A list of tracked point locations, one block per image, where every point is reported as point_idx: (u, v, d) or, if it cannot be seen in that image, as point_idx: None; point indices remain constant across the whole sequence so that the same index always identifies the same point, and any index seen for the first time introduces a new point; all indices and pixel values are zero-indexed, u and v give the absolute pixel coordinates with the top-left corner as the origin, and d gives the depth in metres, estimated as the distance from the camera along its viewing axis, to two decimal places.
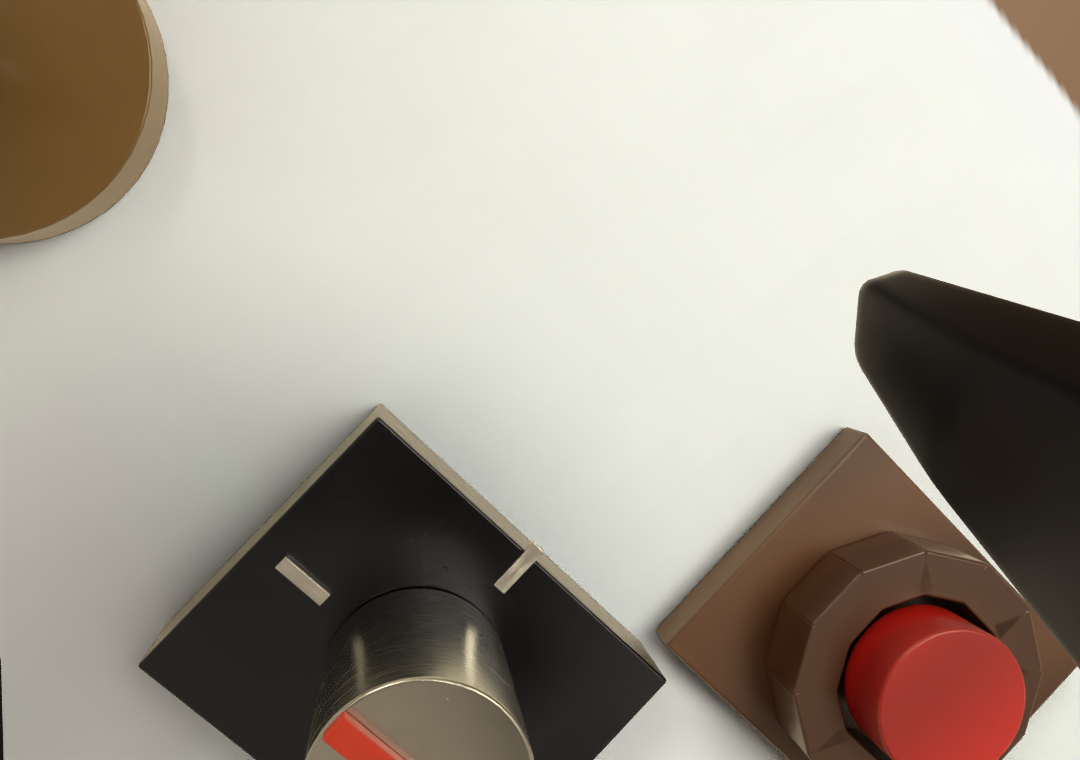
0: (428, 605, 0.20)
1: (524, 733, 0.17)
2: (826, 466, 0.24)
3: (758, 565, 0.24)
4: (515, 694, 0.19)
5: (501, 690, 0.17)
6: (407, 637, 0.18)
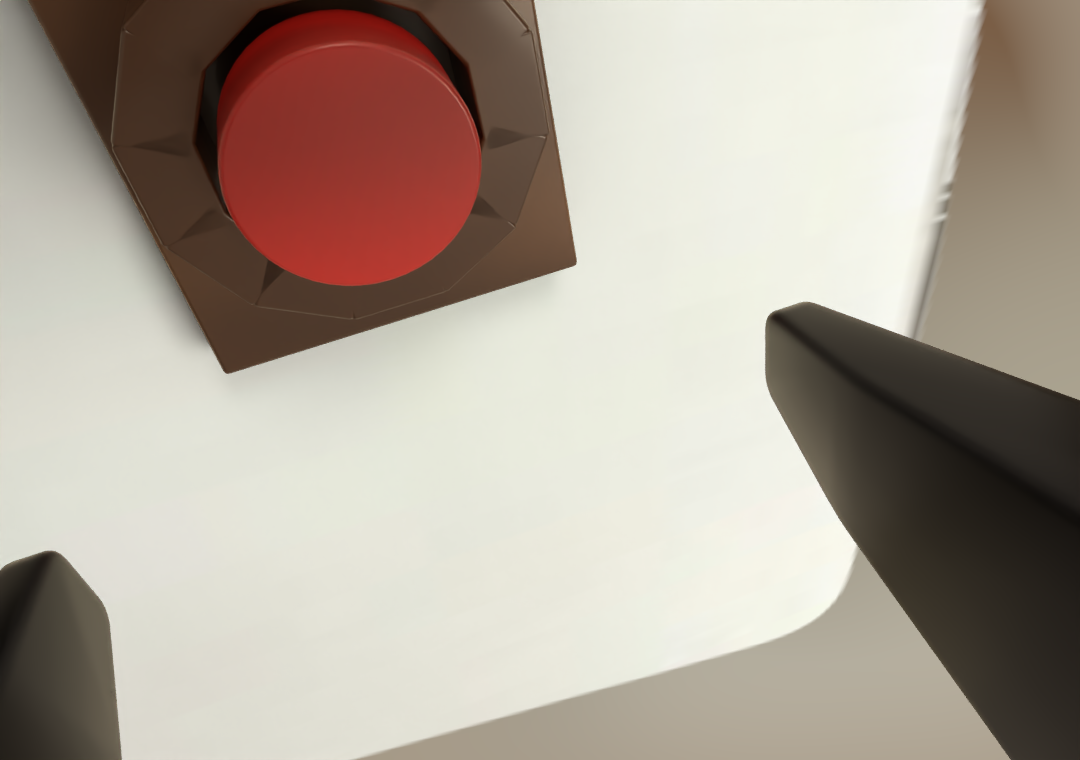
0: None
1: None
2: None
3: None
4: None
5: None
6: None
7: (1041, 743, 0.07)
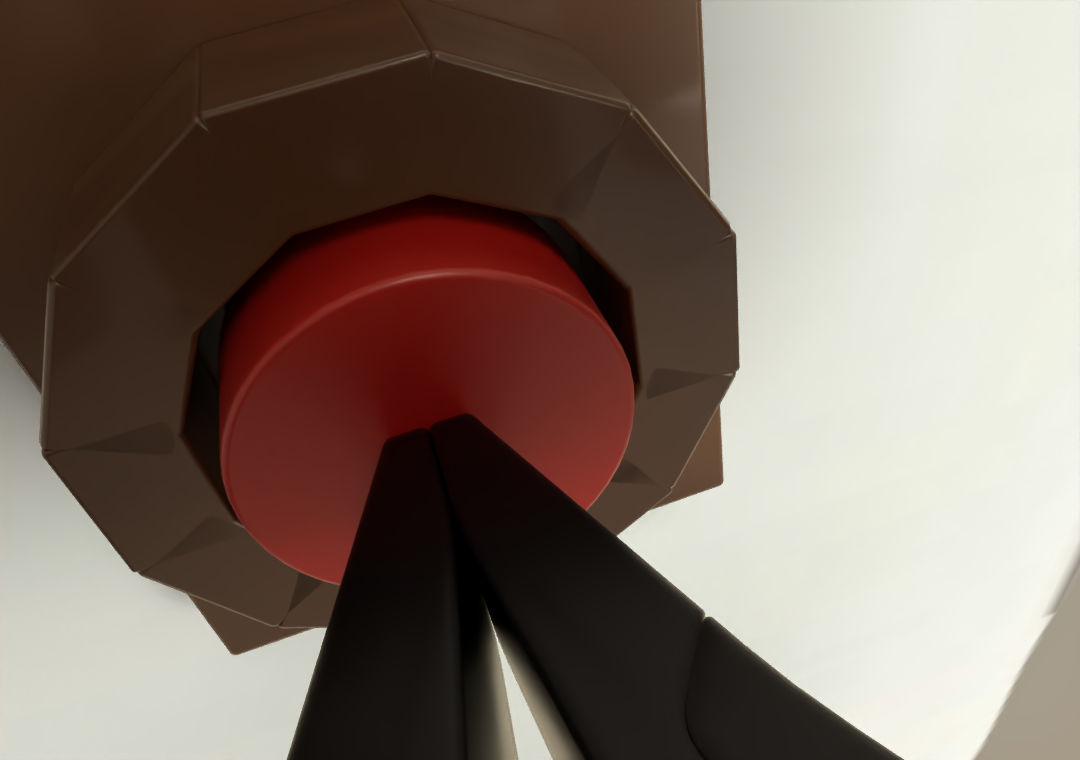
0: None
1: None
2: None
3: None
4: None
5: None
6: None
7: None
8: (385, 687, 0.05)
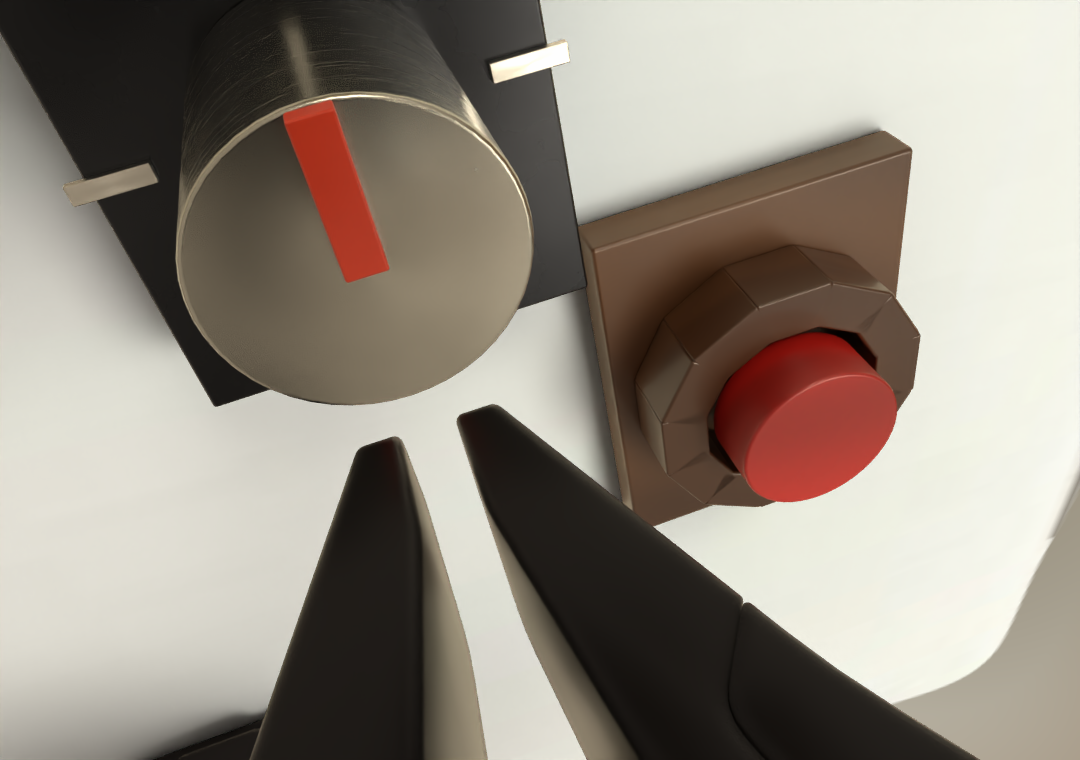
0: (419, 35, 0.13)
1: (531, 266, 0.12)
2: (852, 159, 0.20)
3: (729, 220, 0.20)
4: None
5: None
6: (413, 56, 0.12)
7: None
8: (344, 701, 0.05)
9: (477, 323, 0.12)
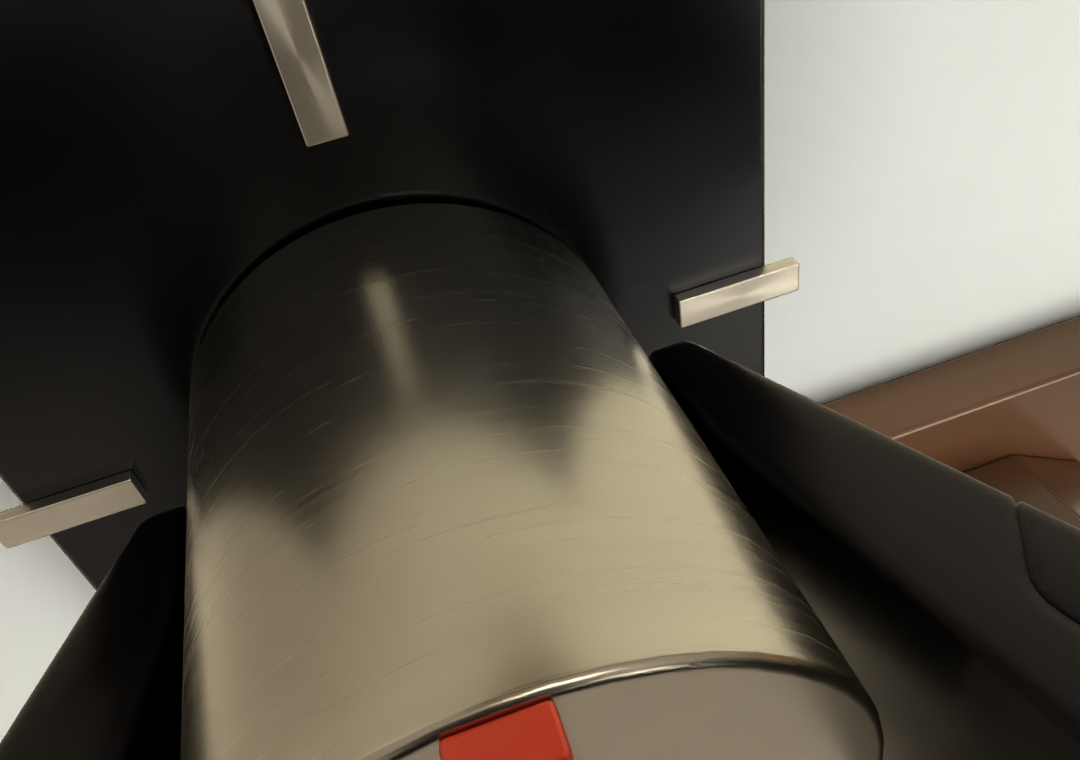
0: (600, 304, 0.08)
1: None
2: None
3: (939, 434, 0.14)
4: None
5: None
6: (639, 419, 0.06)
7: None
8: None
9: None
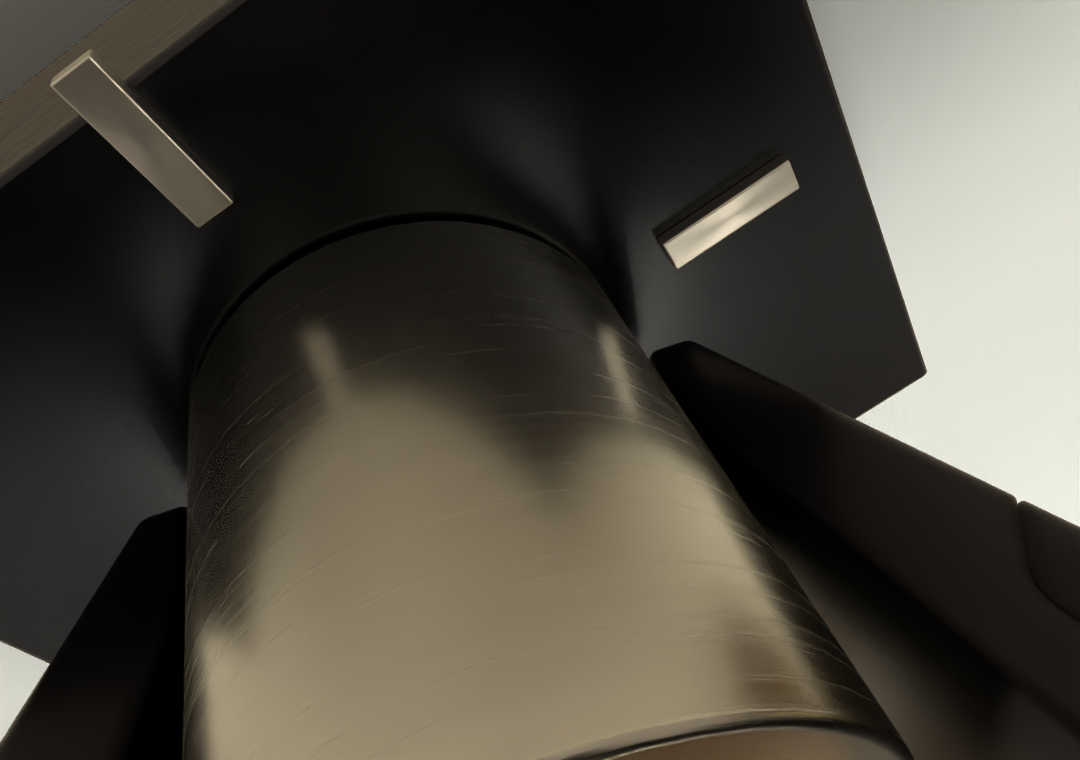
0: (613, 325, 0.07)
1: None
2: None
3: None
4: None
5: None
6: (659, 451, 0.06)
7: None
8: None
9: None
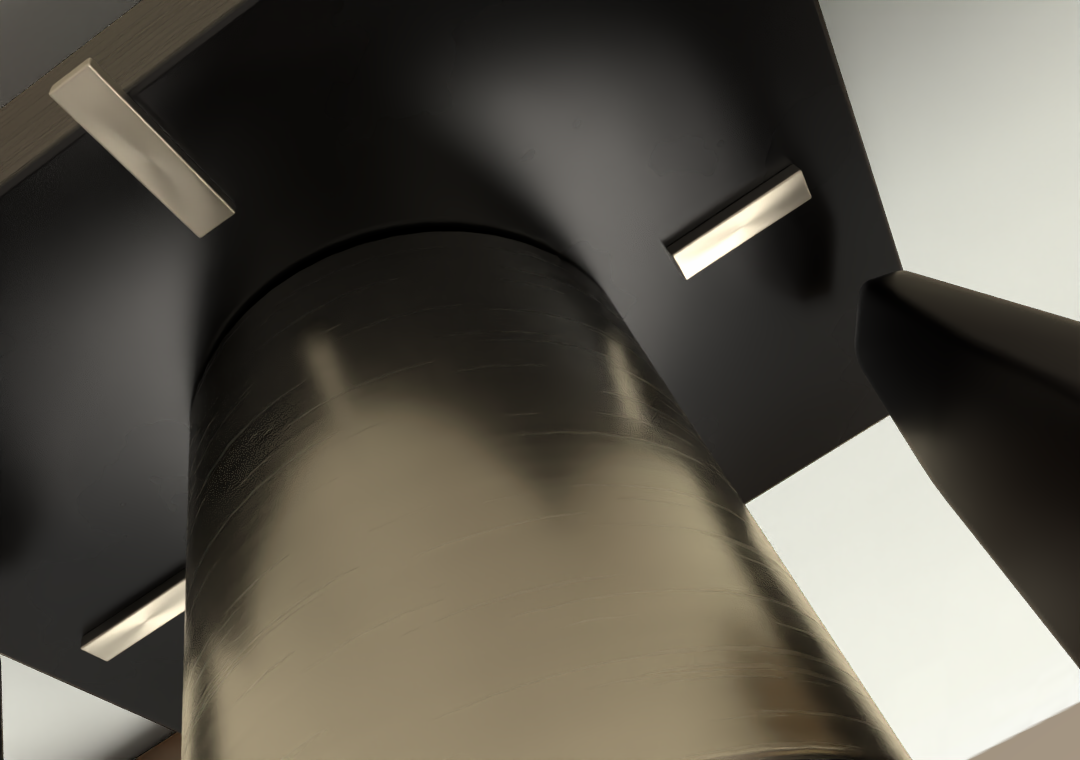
0: (622, 339, 0.07)
1: None
2: None
3: None
4: None
5: None
6: (670, 473, 0.06)
7: None
8: None
9: None
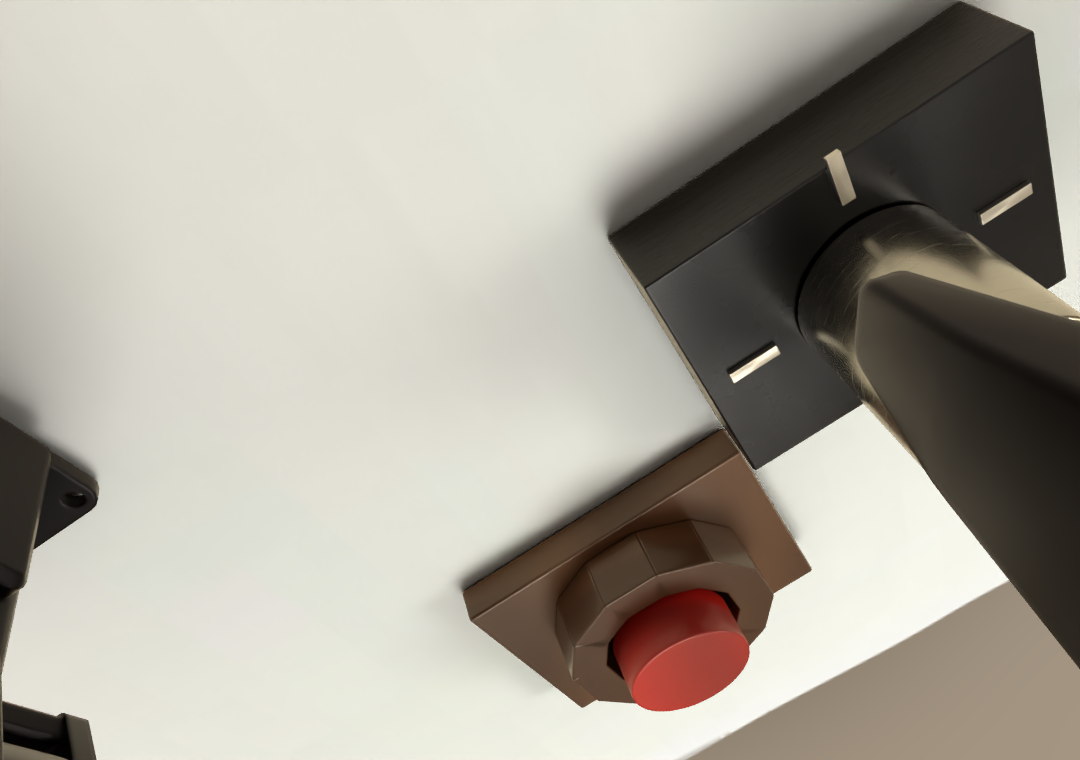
0: None
1: None
2: None
3: (764, 511, 0.29)
4: None
5: None
6: None
7: None
8: None
9: None
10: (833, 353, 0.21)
